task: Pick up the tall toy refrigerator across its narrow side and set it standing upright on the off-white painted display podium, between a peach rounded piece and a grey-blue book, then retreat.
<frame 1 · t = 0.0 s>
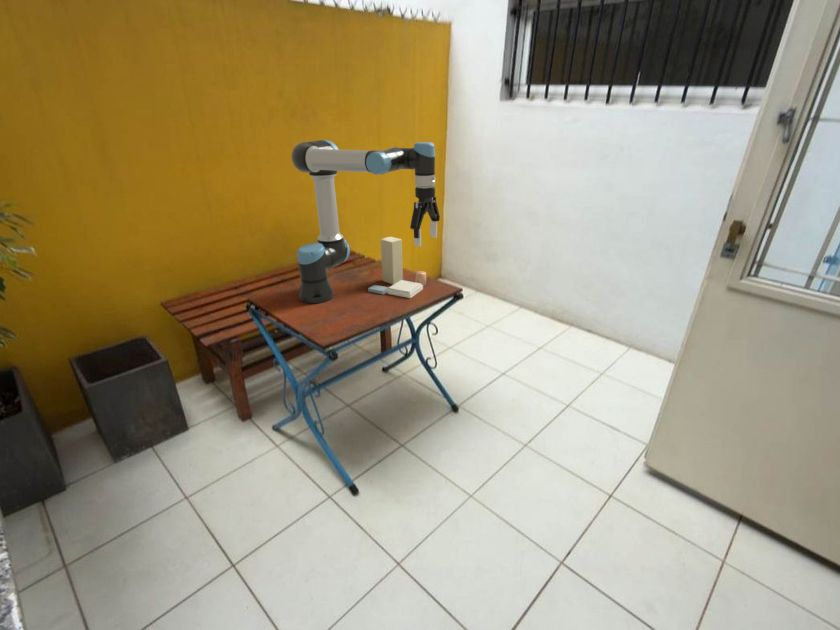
hand: (425, 241, 172), 28 cm above the table, fingers open, 13 cm apart
toy refrigerator: (393, 281, 211), on the table
podium: (405, 291, 198), on the table
book: (378, 291, 200), on the table
peach rounded piece: (421, 284, 206), on the table
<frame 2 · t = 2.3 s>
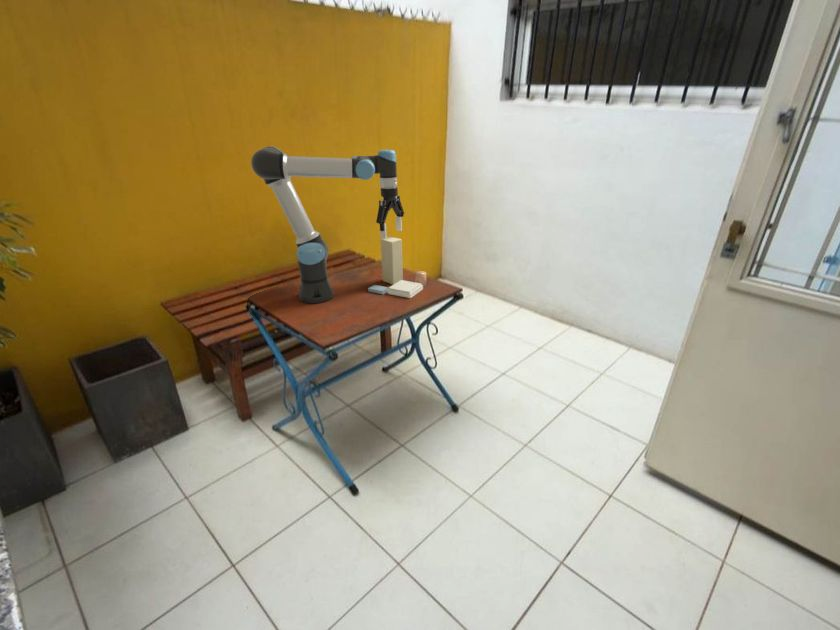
hand: (391, 234, 201), 23 cm above the table, fingers open, 13 cm apart
nothing on the table moved.
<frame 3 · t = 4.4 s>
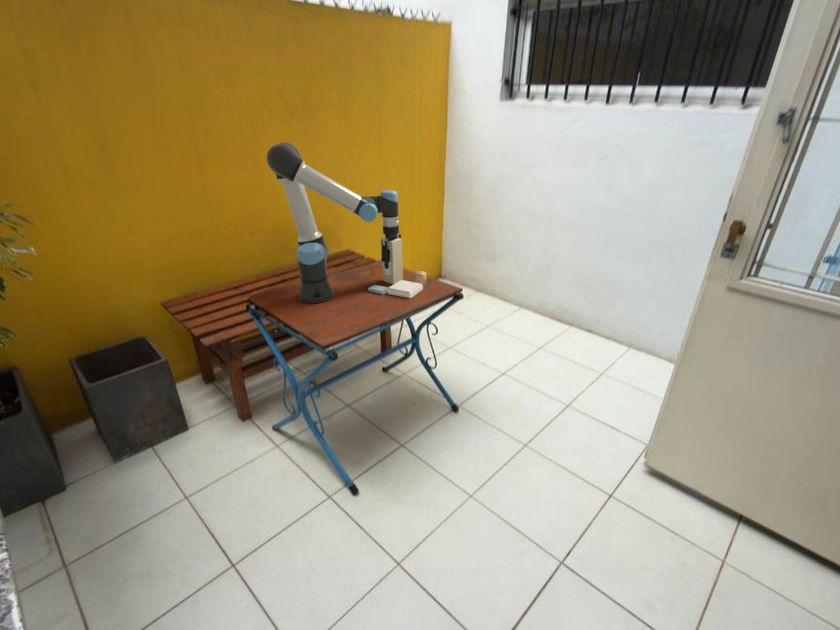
hand: (393, 271, 209), 5 cm above the table, fingers closed on toy refrigerator, 8 cm apart
toy refrigerator: (393, 281, 211), on the table, touching gripper
everything else where it was.
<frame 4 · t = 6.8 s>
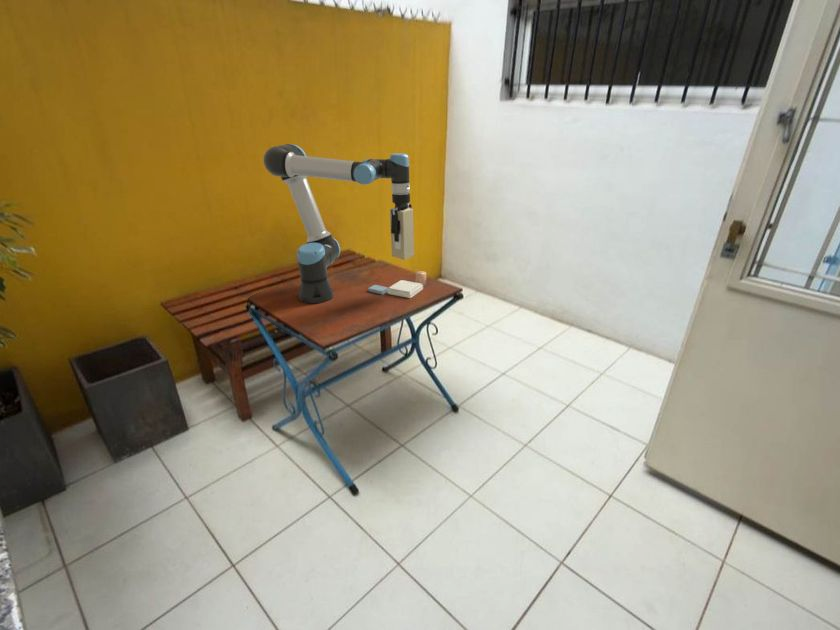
hand: (403, 245, 190), 21 cm above the table, fingers closed on toy refrigerator, 8 cm apart
toy refrigerator: (403, 256, 192), point 16 cm above the table, touching gripper
everything else where it was.
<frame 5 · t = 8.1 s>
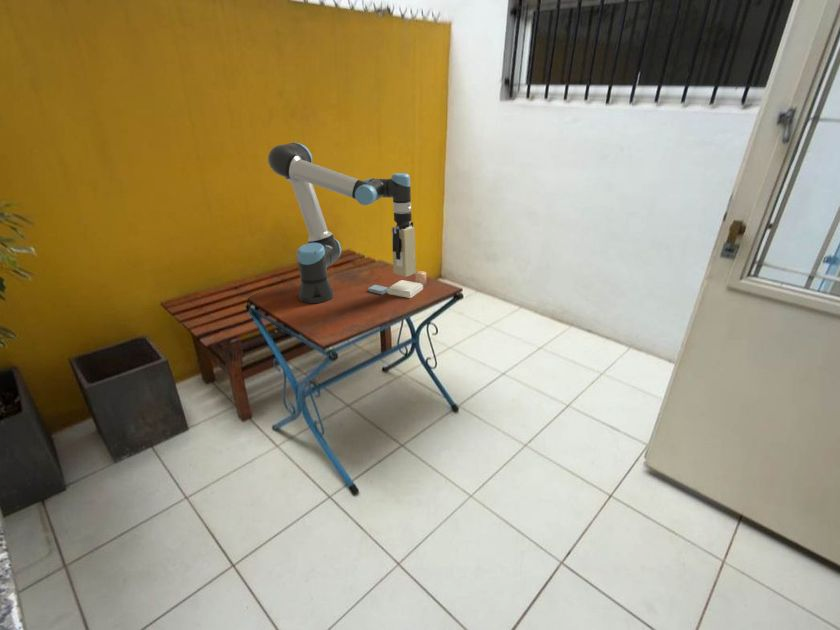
hand: (404, 263, 192), 14 cm above the table, fingers closed on toy refrigerator, 8 cm apart
toy refrigerator: (405, 273, 195), point 9 cm above the table, touching gripper
everything else where it was.
when the fingers open (9 cm above the table, at t = 9.3 s): toy refrigerator stays where it is, resting on podium.
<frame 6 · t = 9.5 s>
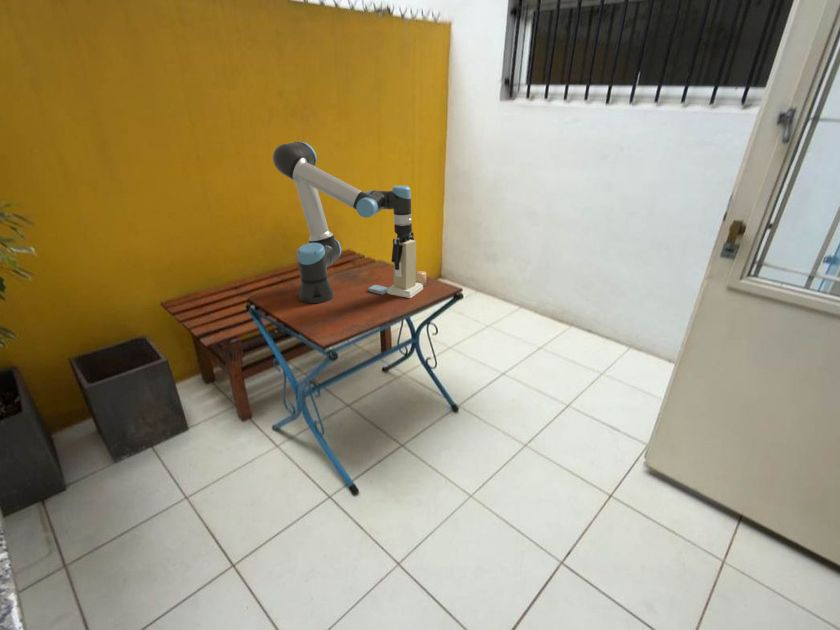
hand: (404, 272, 194), 9 cm above the table, fingers open, 10 cm apart
toy refrigerator: (405, 285, 197), point 3 cm above the table, touching podium
everything else where it was.
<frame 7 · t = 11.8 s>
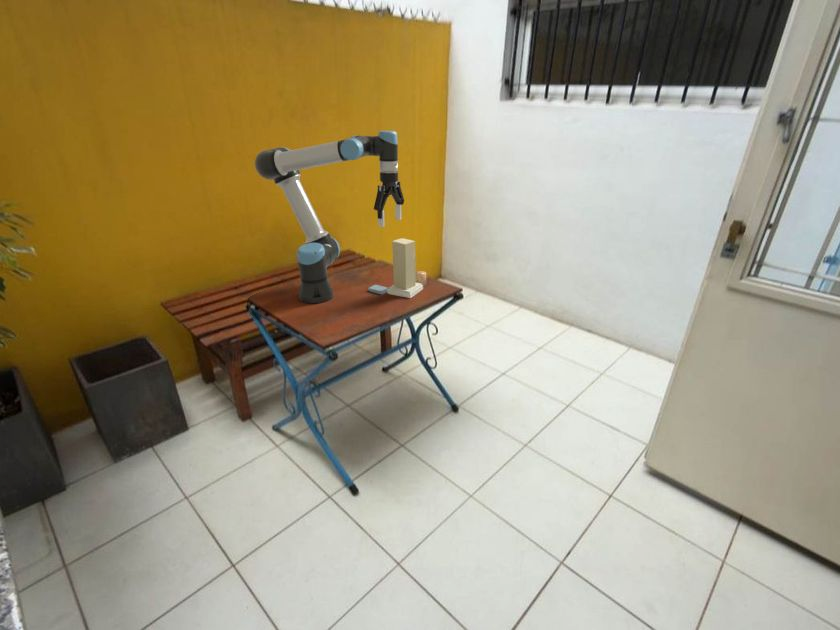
hand: (390, 222, 187), 31 cm above the table, fingers open, 13 cm apart
nothing on the table moved.
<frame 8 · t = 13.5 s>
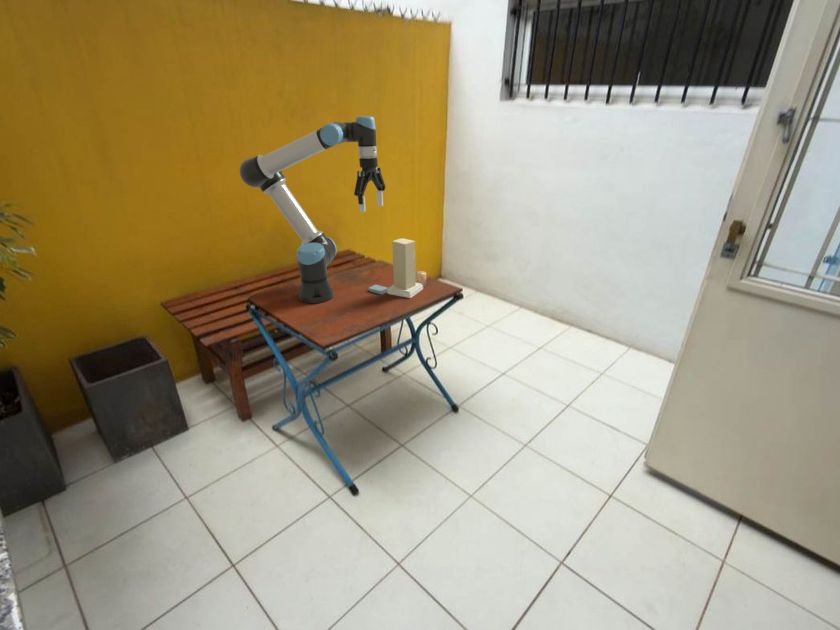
hand: (371, 208, 188), 37 cm above the table, fingers open, 13 cm apart
nothing on the table moved.
at the end: toy refrigerator inside the target area on the podium (0.2 cm from its centre), point 2.6 cm above the podium's base; toy refrigerator tilted 0°; the gripper is holding nothing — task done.
